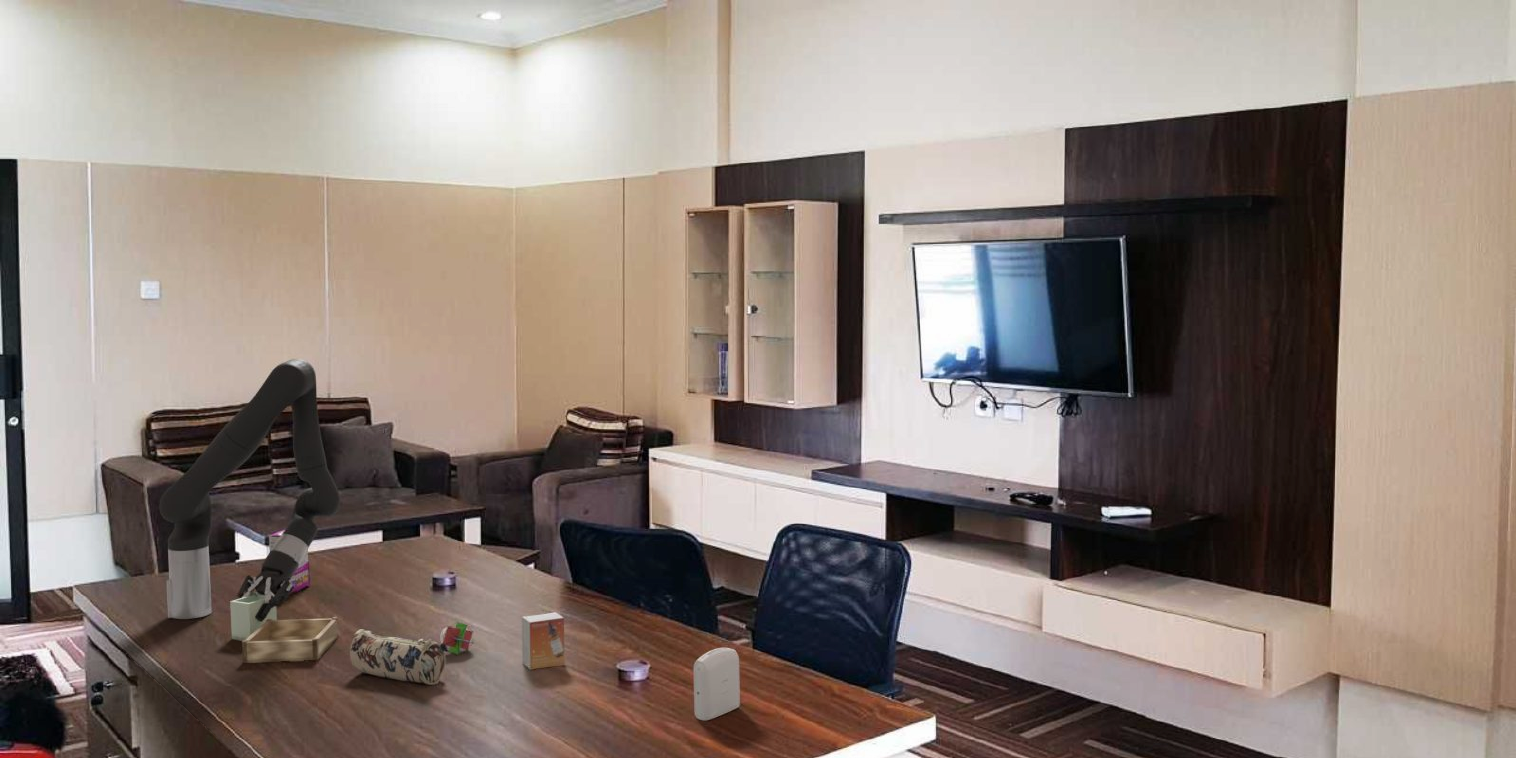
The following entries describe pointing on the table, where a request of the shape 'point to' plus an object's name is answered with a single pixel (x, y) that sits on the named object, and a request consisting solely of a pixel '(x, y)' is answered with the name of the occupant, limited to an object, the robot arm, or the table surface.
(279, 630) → the wooden tray
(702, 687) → the photo printer
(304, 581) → the candy bar box
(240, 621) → the box
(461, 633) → the geometric puzzle
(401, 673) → the pencil case
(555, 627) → the small box
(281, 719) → the table surface
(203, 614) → the robot arm
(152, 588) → the table surface
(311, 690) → the table surface
